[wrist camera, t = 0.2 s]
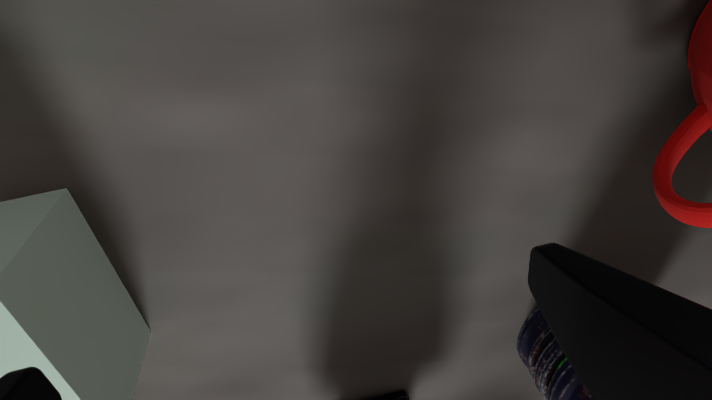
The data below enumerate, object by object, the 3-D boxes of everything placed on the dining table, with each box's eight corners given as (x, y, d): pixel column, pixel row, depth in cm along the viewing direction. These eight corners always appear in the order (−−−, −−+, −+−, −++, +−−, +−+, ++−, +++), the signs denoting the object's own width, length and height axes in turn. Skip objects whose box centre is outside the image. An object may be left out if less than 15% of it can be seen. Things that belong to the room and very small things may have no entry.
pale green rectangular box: (150, 330, 26) (119, 446, 20) (99, 342, 25) (51, 464, 20) (67, 187, 20) (-11, 288, 14) (0, 201, 20) (-107, 310, 14)
